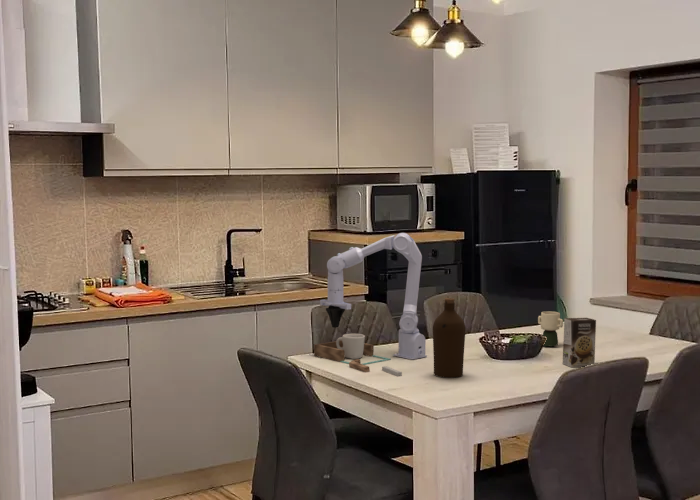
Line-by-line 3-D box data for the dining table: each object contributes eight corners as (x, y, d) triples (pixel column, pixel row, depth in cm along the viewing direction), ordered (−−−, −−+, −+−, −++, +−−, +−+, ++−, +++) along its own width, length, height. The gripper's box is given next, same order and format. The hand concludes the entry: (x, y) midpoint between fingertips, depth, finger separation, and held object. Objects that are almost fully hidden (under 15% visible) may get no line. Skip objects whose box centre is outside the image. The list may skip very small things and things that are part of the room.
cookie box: (571, 367, 303) (572, 320, 301) (562, 363, 309) (563, 317, 307) (595, 366, 305) (596, 319, 304) (585, 362, 311) (586, 316, 310)
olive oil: (468, 378, 286) (469, 300, 284) (435, 378, 285) (436, 301, 283) (460, 371, 296) (462, 296, 294) (429, 371, 295) (430, 296, 293)
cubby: (373, 356, 320) (373, 345, 319) (341, 362, 309) (341, 350, 309) (345, 350, 330) (345, 339, 330) (314, 355, 320) (314, 344, 320)
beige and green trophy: (567, 347, 339) (568, 313, 338) (556, 349, 334) (557, 315, 333) (542, 343, 347) (543, 310, 345) (532, 345, 342) (533, 311, 341)
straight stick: (401, 377, 289) (401, 372, 289) (397, 377, 288) (397, 372, 288) (386, 370, 298) (386, 366, 297) (382, 371, 297) (382, 366, 297)
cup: (331, 357, 316) (331, 335, 316) (341, 353, 324) (342, 332, 323) (358, 360, 311) (358, 338, 311) (368, 356, 318) (368, 334, 318)
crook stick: (376, 369, 296) (375, 364, 295) (365, 372, 294) (365, 367, 293) (358, 363, 305) (357, 358, 305) (348, 366, 303) (347, 361, 302)
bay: (390, 359, 314) (390, 358, 314) (357, 366, 303) (358, 365, 303) (372, 355, 320) (372, 354, 320) (340, 361, 309) (340, 361, 309)
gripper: (313, 288, 324) (313, 325, 325) (341, 292, 313) (340, 331, 314) (328, 287, 329) (328, 323, 330) (355, 291, 318) (355, 328, 319)
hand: (335, 327), depth 322 cm, fingers closed
